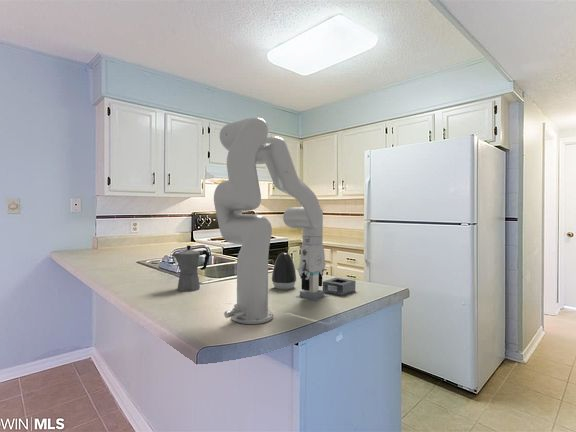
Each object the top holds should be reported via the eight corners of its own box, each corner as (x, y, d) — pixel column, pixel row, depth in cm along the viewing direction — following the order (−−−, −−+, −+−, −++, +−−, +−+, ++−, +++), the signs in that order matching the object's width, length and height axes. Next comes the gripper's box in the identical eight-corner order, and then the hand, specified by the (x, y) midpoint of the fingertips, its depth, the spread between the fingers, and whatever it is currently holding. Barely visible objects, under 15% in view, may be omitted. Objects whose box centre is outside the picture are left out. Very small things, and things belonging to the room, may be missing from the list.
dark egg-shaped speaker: (298, 286, 142) (299, 251, 142) (292, 292, 132) (293, 254, 132) (276, 285, 145) (276, 250, 145) (268, 290, 135) (268, 253, 135)
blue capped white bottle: (313, 298, 122) (313, 271, 122) (304, 296, 125) (305, 269, 124) (318, 296, 125) (319, 269, 125) (310, 294, 127) (310, 268, 127)
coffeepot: (174, 293, 130) (174, 247, 129) (169, 288, 138) (169, 245, 137) (213, 288, 138) (213, 245, 137) (206, 284, 146) (206, 243, 145)
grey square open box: (314, 302, 118) (314, 295, 118) (295, 298, 124) (295, 291, 124) (328, 297, 125) (328, 290, 125) (309, 293, 131) (309, 287, 131)
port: (342, 297, 125) (342, 285, 125) (322, 293, 131) (322, 281, 131) (355, 292, 133) (355, 280, 133) (335, 288, 139) (336, 277, 139)
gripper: (306, 243, 115) (306, 294, 116) (333, 239, 129) (333, 285, 129) (289, 241, 120) (289, 290, 120) (317, 238, 133) (316, 282, 134)
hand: (312, 287), depth 125 cm, fingers open, 7 cm apart
